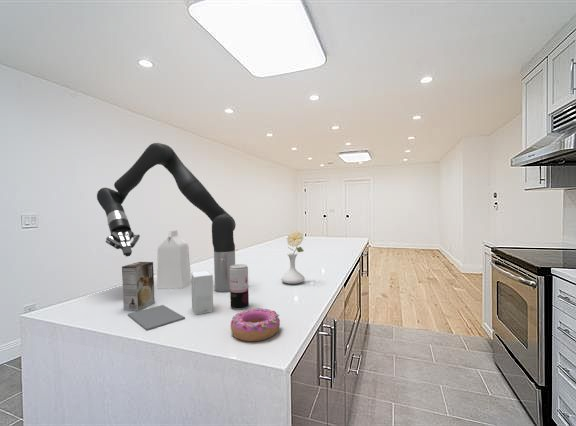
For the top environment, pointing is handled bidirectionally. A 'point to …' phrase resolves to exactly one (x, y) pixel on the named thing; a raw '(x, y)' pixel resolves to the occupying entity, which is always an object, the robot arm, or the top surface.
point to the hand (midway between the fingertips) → (128, 255)
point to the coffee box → (138, 285)
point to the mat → (155, 317)
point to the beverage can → (239, 286)
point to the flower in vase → (293, 259)
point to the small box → (202, 292)
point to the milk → (173, 263)
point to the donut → (255, 324)
